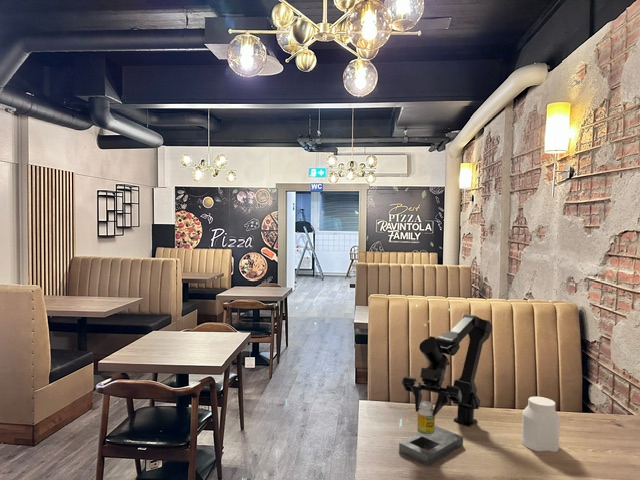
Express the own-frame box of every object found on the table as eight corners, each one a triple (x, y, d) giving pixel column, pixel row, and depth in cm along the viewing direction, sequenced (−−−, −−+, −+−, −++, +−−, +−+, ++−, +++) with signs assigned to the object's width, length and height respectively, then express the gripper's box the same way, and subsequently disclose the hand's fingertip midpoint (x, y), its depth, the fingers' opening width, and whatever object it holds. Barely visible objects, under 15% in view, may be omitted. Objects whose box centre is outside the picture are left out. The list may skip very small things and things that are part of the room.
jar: (529, 451, 151) (531, 406, 150) (516, 437, 160) (518, 395, 160) (564, 452, 151) (566, 407, 150) (550, 438, 160) (551, 396, 160)
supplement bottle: (425, 427, 152) (426, 398, 151) (437, 433, 147) (438, 404, 147) (413, 431, 149) (414, 401, 148) (426, 437, 144) (426, 407, 144)
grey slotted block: (434, 433, 162) (434, 425, 162) (462, 445, 154) (463, 436, 154) (399, 451, 148) (399, 442, 148) (427, 465, 140) (428, 456, 140)
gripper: (404, 352, 155) (391, 395, 146) (460, 362, 146) (449, 408, 137) (412, 369, 162) (399, 410, 153) (466, 379, 153) (456, 424, 144)
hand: (424, 413), depth 147 cm, fingers closed on supplement bottle, 5 cm apart
